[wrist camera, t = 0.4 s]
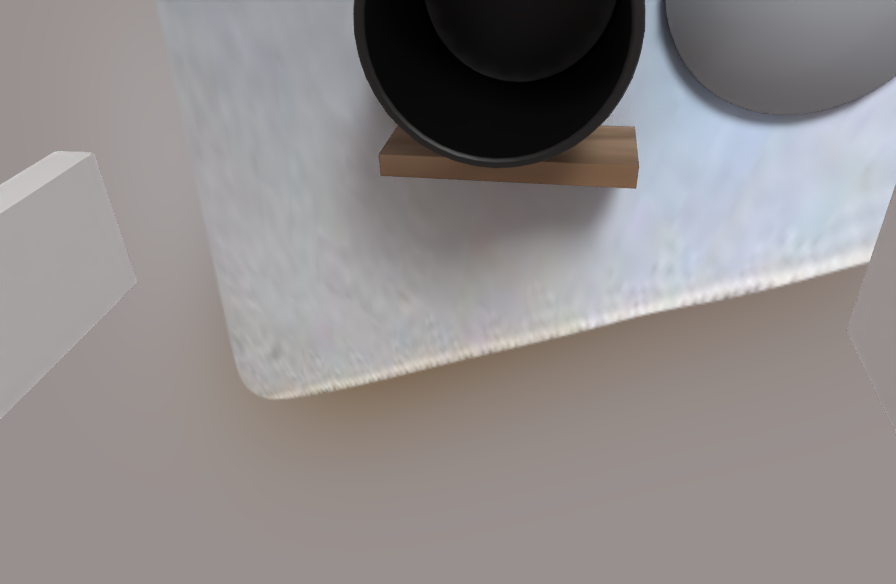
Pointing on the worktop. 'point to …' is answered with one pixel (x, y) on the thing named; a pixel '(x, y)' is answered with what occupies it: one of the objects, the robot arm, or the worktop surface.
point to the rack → (587, 164)
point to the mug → (499, 71)
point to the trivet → (786, 50)
